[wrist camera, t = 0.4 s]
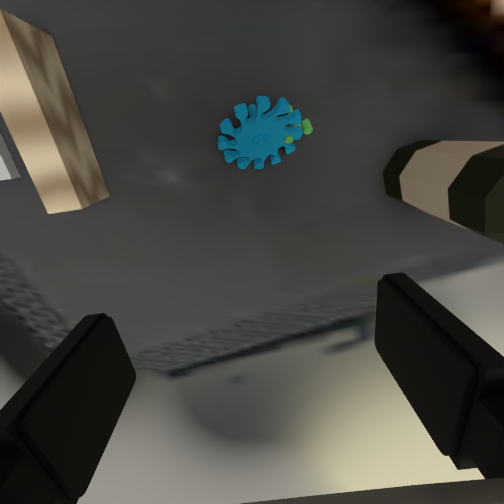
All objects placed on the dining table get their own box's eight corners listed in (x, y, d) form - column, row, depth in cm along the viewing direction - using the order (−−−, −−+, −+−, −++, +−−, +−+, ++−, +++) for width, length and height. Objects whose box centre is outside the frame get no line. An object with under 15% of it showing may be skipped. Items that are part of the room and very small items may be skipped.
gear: (222, 178, 34) (214, 111, 25) (215, 143, 36) (206, 70, 27) (303, 166, 35) (325, 98, 26) (292, 133, 37) (308, 59, 28)
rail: (18, 42, 29) (-45, 16, 23) (52, 36, 29) (-1, 8, 23) (82, 200, 37) (48, 214, 30) (110, 196, 37) (82, 208, 30)
